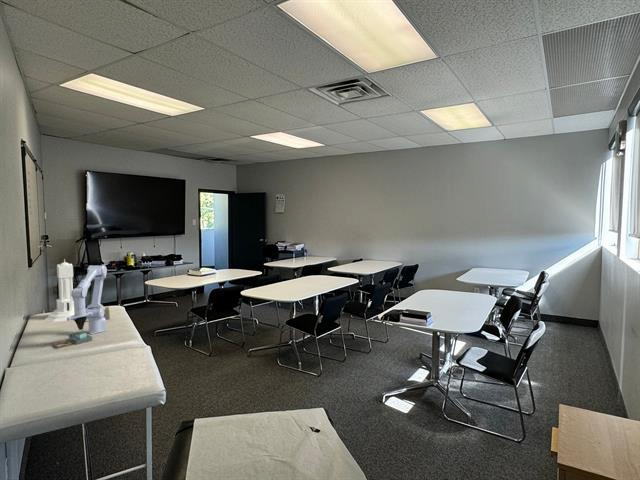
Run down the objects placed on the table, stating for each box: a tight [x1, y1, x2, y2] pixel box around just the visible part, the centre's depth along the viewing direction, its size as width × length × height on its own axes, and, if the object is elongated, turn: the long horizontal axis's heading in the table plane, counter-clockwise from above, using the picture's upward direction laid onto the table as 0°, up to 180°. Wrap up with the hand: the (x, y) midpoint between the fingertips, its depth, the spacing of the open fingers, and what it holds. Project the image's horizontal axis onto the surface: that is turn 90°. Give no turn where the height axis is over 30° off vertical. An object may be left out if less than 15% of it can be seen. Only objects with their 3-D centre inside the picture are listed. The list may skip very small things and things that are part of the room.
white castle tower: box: [44, 258, 74, 323], centre depth 273 cm, size 28×28×45 cm
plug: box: [75, 330, 88, 339], centre depth 221 cm, size 4×4×6 cm
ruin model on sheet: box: [103, 306, 111, 321], centre depth 264 cm, size 11×3×10 cm, turn 125°
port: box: [67, 329, 93, 345], centre depth 222 cm, size 8×13×4 cm, turn 53°
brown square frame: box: [52, 340, 73, 350], centre depth 213 cm, size 7×7×1 cm
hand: (80, 329), depth 220 cm, fingers closed
